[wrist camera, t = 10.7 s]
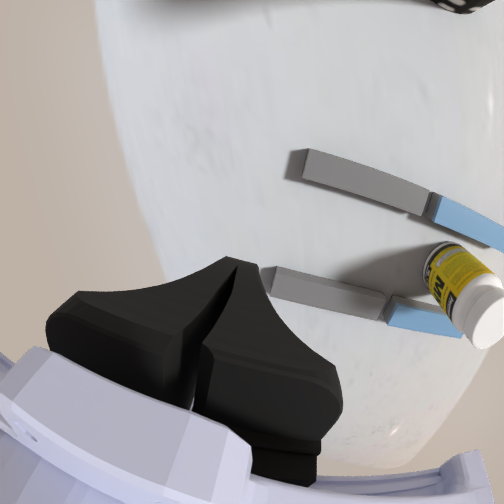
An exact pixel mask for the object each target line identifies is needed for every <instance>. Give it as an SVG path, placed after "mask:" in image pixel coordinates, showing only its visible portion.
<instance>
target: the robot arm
mask: <svg viewBox="0 0 504 504" xmlns="http://www.w3.org/2000/svg"><path fill="white" fill-rule="evenodd" d="M45 331H46V337H47V342H48V345H49V348H50V351H49V350H47V349H44V348H41V347H37V346H33V347H32V348H31V349H30V350H28V351H27V352H26V353H25V354H24V355H23V356H22V357H21V358H20V359H19V360H18V362H17V363H16V364H15V363H13V362H12V361H11V360H9V359H8V358H7V357H6V356H4V355H3V354H2V353H1V352H0V504H495V502H494V497H493V493H492V489H491V485H490V482H489V478H488V474H487V471H486V468H485V464H484V461H483V458H482V456H481V452H480V450H474V451H470V452H466V453H461V454H458V455H456V456H454V457H452V458H450V459H449V460H447V461H446V462H445V463H444V464H443V465H441V467H440V468H435V469H429V470H423V471H417V472H409V473H402V474H391V475H376V476H318V475H317V456H318V455H319V454H320V453H321V439H322V438H323V437H324V436H325V435H326V433H327V432H328V431H329V430H330V429H331V428H332V426H333V425H334V424H335V423H336V421H337V420H338V419H339V417H340V415H341V413H342V410H343V398H342V390H341V386H340V381H339V378H338V374H337V371H336V367H335V365H333V364H332V363H330V362H329V361H327V360H326V359H324V358H323V357H322V356H320V355H319V354H317V353H316V352H314V351H313V350H312V349H310V348H309V347H308V346H307V345H306V344H305V343H303V342H302V341H301V340H300V339H299V338H298V337H297V336H296V335H295V334H294V333H293V332H292V331H291V330H290V329H289V328H288V327H287V325H286V324H285V323H284V322H283V321H282V319H281V318H280V317H279V315H278V314H277V313H276V311H275V309H274V308H273V306H272V304H271V302H270V300H269V298H268V296H267V294H266V292H265V289H264V287H263V284H262V281H261V278H260V274H259V267H258V265H257V264H254V263H250V262H246V261H243V260H239V259H235V258H231V257H227V256H226V257H224V258H222V259H220V260H218V261H216V262H215V263H213V264H211V265H209V266H207V267H206V268H204V269H202V270H200V271H197V272H195V273H193V274H191V275H188V276H186V277H184V278H181V279H178V280H175V281H172V282H169V283H166V284H162V285H158V286H153V287H148V288H142V289H136V290H127V291H113V292H97V291H78V292H76V293H75V294H74V295H73V296H72V297H70V298H69V299H68V300H67V301H66V302H65V303H63V304H62V305H61V306H60V307H59V308H58V309H57V310H56V311H54V312H53V313H52V314H51V315H50V316H49V318H48V320H47V321H46V329H45Z"/></svg>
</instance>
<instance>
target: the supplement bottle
mask: <svg viewBox="0 0 504 504" xmlns="http://www.w3.org/2000/svg"><path fill="white" fill-rule="evenodd" d="M423 280H424V283H425V285H426V287H427V288H428V290H429V291H430V293H431V294H432V295H433V297H434V298H435V299H436V301H437V302H438V303H439V305H440V306H441V308H442V309H443V311H444V312H445V313H446V315H447V316H448V318H449V319H450V321H451V322H452V324H453V325H454V327H455V328H456V329H457V330H458V331H459V332H461V333H464V334H465V335H466V337H467V338H468V339H469V340H470V342H471V343H472V345H473V346H474V347H475V348H477V349H485V348H488V347H490V346H492V345H493V344H495V343H496V342H497V341H499V340H500V338H502V337H503V335H504V290H503V287H502V283H501V281H500V279H499V278H498V277H497V276H496V275H495V274H494V273H493V272H492V271H491V270H489V269H488V268H487V267H486V266H485V265H484V264H482V263H481V262H480V261H479V260H478V259H477V258H476V257H474V256H473V255H472V254H471V253H470V252H468V251H467V250H466V249H465V248H463V247H462V246H461V245H459V244H457V243H455V242H446V243H443V244H441V245H439V246H438V247H436V248H435V249H434V250H433V251H432V252H431V253H430V255H429V256H428V258H427V260H426V262H425V265H424V268H423Z"/></svg>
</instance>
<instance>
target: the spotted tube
mask: <svg viewBox="0 0 504 504" xmlns="http://www.w3.org/2000/svg"><path fill="white" fill-rule="evenodd" d="M431 1H433V2H434V3H436V4H437V5H439V6H441V7H443V8H445V9H447V10H449V11H452V12H455V13H459V14H470V13H472V12H474V11H476V10H478V9H480V8H481V7H483V6H485V5H487V4H489V3H491V2H492V1H494V0H431Z"/></svg>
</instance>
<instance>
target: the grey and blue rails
mask: <svg viewBox="0 0 504 504" xmlns="http://www.w3.org/2000/svg"><path fill="white" fill-rule="evenodd" d="M302 178H304V179H307V180H311V181H315V182H318V183H322V184H325V185H329V186H332V187H335V188H339V189H342V190H345V191H349V192H352V193H355V194H358V195H361V196H364V197H367V198H370V199H373V200H376V201H379V202H382V203H385V204H388V205H391V206H394V207H397V208H399V209H402V210H405V211H408V212H410V213H413V214H416V215H418V216H422V213H423V210H424V207H425V204H426V201H427V198H428V195H429V191H430V190H428V189H425V188H423V187H421V186H418V185H416V184H413V183H411V182H408V181H406V180H403V179H401V178H398V177H396V176H393V175H390V174H388V173H385V172H382V171H379V170H377V169H374V168H371V167H368V166H365V165H362V164H359V163H356V162H353V161H350V160H347V159H344V158H341V157H337V156H334V155H331V154H327V153H324V152H320V151H317V150H313V149H310V148H309V149H308V153H307V157H306V161H305V165H304V169H303V173H302ZM425 216H426V217H427V218H428V219H430V220H431V221H433V222H435V223H437V224H440V225H442V226H445V227H447V228H449V229H452V230H454V231H457V232H459V233H461V234H464V235H466V236H468V237H470V238H473V239H475V240H477V241H479V242H481V243H484V244H486V245H488V246H490V247H492V248H494V249H496V250H498V251H501V252H503V253H504V227H503V226H501V225H499V224H497V223H495V222H494V221H492V220H490V219H488V218H486V217H484V216H482V215H481V214H479V213H477V212H475V211H473V210H471V209H469V208H467V207H465V206H463V205H461V204H459V203H457V202H454V201H452V200H450V199H448V198H446V197H444V196H441V195H439V194H437V193H435V192H433V193H432V197H431V200H430V203H429V206H428V209H427V212H426V215H425ZM270 296H271V297H275V298H279V299H283V300H287V301H291V302H296V303H300V304H304V305H308V306H312V307H317V308H321V309H325V310H330V311H334V312H339V313H343V314H348V315H352V316H357V317H362V318H366V319H371V320H377V318H378V316H379V314H380V312H381V310H382V308H383V306H384V304H385V302H386V298H385V296H384V294H383V293H382V292H378V291H374V290H370V289H366V288H362V287H358V286H354V285H350V284H346V283H342V282H338V281H334V280H330V279H326V278H322V277H318V276H314V275H310V274H306V273H302V272H298V271H294V270H290V269H286V268H282V267H278V266H277V269H276V272H275V275H274V279H273V282H272V286H271V290H270ZM383 316H384V318H385V321H386V323H387V325H388V326H393V327H398V328H403V329H409V330H414V331H419V332H425V333H431V334H436V335H442V336H448V337H454V338H460V339H461V337H462V335H463V334H464V333H461V332H459V331H458V330H457V329H456V328H455V327H454V325H453V324H452V322H451V321H450V319H449V318H448V316H447V315H446V313H445V312H444V311H443V309H442V308H441V307H440V306H436V305H432V304H428V303H423V302H419V301H415V300H411V299H407V298H403V297H399V296H395V295H392V297H391V299H390V301H389V303H388V305H387V307H386V309H385V311H384V313H383Z"/></svg>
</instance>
